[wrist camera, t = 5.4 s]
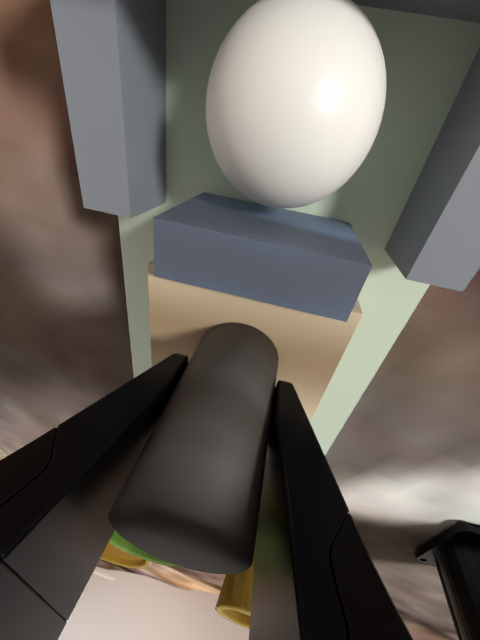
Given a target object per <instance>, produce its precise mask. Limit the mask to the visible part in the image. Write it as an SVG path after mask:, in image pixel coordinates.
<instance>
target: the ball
mask: <svg viewBox="0 0 480 640" xmlns="http://www.w3.org/2000/svg"><path fill="white" fill-rule="evenodd" d="M385 99H386V68H385V60H384V55H383V51H382V48H381V44H380V41H379V39H378V36H377V34H376V32H375V29H374V27H373V26H372V24H371V22H370V21H369V19H368V18H367V16H366V15H365V13H364V12H363V11H362V10H361V9H360V8H359V7H358V6H357V5H356V3H354V2H353V1H352V0H259V1H257V2H256V3H255V4H254V5H252V6H251V7H250V8H249V9H247V10H246V11H245V12H244V14H243V15H242V16H241V17H240V18H239V19H238V20H237V21H236V22H235V24H234V25H233V26H232V28H231V29H230V31H229V32H228V33H227V35H226V37H225V39H224V40H223V42H222V44H221V46H220V48H219V50H218V53H217V55H216V57H215V60H214V62H213V66H212V69H211V73H210V76H209V81H208V87H207V94H206V123H207V132H208V136H209V141H210V145H211V148H212V151H213V154H214V156H215V159H216V161H217V163H218V165H219V167H220V169H221V170H222V172H223V173H224V175H225V176H226V178H227V179H228V180H229V182H230V183H231V184H232V185H233V186H234V187H235V188H236V189H237V190H238V191H239V192H241V193H242V194H243V195H244V196H246V197H248V198H249V199H251V200H253V201H255V202H257V203H259V204H262V205H265V206H268V207H273V208H284V209H290V208H298V207H303V206H307V205H310V204H313V203H315V202H318V201H320V200H322V199H324V198H326V197H327V196H329V195H331V194H332V193H333V192H335V191H336V190H338V189H339V188H340V187H341V186H342V185H343V184H345V183H346V182H347V181H348V180H349V179H350V177H351V176H352V175H353V174H354V173H355V172H356V171H357V169H358V168H359V166H360V165H361V164H362V162H363V161H364V159H365V158H366V156H367V154H368V152H369V151H370V149H371V147H372V144H373V142H374V140H375V138H376V136H377V133H378V130H379V127H380V124H381V121H382V116H383V112H384V107H385Z"/></svg>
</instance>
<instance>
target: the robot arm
mask: <svg viewBox="0 0 480 640" xmlns="http://www.w3.org/2000/svg"><path fill="white" fill-rule="evenodd" d="M188 362H189V359H188V356H186V355H182V354H179V353H174V354H172V355H170V356H168V357H167V358H165V359H164V360H162V361H161V362H159V363H157V364H156V365H154V366H153V367H151V368H149V369H148V370H146V371H145V372H143V373H141V374H140V375H138V376H137V377H135V378H133V379H132V380H130V381H129V382H127V383H125V384H124V385H122V386H121V387H119V388H117V389H116V390H114V391H113V392H111V393H109V394H108V395H106V396H105V397H103V398H101V399H100V400H98V401H97V402H95V403H93V404H92V405H90V406H89V407H87V408H85V409H84V410H82V411H81V412H79V413H77V414H76V415H74V416H73V417H71V418H69V419H68V420H66V421H65V422H63V423H61V424H60V425H58V428H53V429H52V430H50V431H48V432H47V433H45V434H44V435H42V436H40V437H39V438H37V439H35V440H34V441H32V442H30V443H29V444H27V445H25V446H24V447H22V448H20V449H19V450H17V451H15V452H14V453H12V454H10V455H9V456H7V457H5V458H3V459H1V460H0V640H58V638H59V636H60V634H61V632H62V630H63V628H64V626H65V625H66V620H68V618H69V617H70V615H71V613H72V611H73V609H74V607H75V605H76V603H77V601H78V599H79V598H80V596H81V594H82V592H83V590H84V588H85V586H86V584H87V582H88V581H89V579H90V576H91V575H92V573H93V571H94V569H95V567H96V565H97V563H98V561H99V560H100V558H101V556H102V554H103V552H104V550H105V548H106V546H107V544H108V542H109V541H110V539H111V537H112V535H113V533H114V531H115V529H114V528H113V527H112V525H111V524H110V522H109V518H108V515H109V512H110V510H111V508H112V506H113V504H114V502H115V500H116V498H117V497H118V495H119V493H120V491H121V489H122V487H123V485H124V483H125V482H126V480H127V478H128V476H129V474H130V472H131V470H132V468H133V466H134V465H135V463H136V461H137V459H138V457H139V455H140V453H141V451H142V450H143V448H144V446H145V444H146V442H147V440H148V438H149V436H150V435H151V433H152V431H153V429H154V427H155V425H156V423H157V421H158V419H159V418H160V416H161V414H162V412H163V410H164V408H165V406H166V404H167V403H168V401H169V399H170V397H171V395H172V393H173V391H174V389H175V387H176V386H177V384H178V382H179V380H180V378H181V376H182V374H183V372H184V371H185V369H186V367H187V365H188ZM348 512H349V509H348V507H347V505H346V503H345V500H344V498H343V496H342V494H341V491H340V489H339V487H338V485H337V482H336V480H335V478H334V476H333V473H332V471H331V469H330V467H329V464H328V462H327V460H326V458H325V455H324V453H323V451H322V449H321V446H320V444H319V442H318V440H317V437H316V435H315V433H314V431H313V428H312V426H311V424H310V421H309V419H308V417H307V415H306V412H305V410H304V408H303V406H302V403H301V401H300V399H299V397H298V394H297V392H296V390H295V388H294V385H293V384H292V383H290V382H286V381H282V380H279V381H278V382H277V384H276V387H275V393H274V401H273V409H272V417H271V424H270V432H269V440H268V448H267V456H266V464H265V471H264V479H263V487H262V495H261V503H260V511H259V518H258V526H257V534H256V542H255V552H254V568H253V584H252V600H251V615H250V632H249V640H413V638H412V636H411V634H410V632H409V631H408V629H407V627H406V625H405V623H404V621H403V620H402V618H401V616H400V614H399V612H398V610H397V608H396V607H395V605H394V603H393V601H392V599H391V597H390V595H389V593H388V591H387V589H386V587H385V585H384V584H383V582H382V580H381V578H380V576H379V574H378V572H377V570H376V568H375V566H374V564H373V562H372V560H371V558H370V555H369V553H368V551H367V549H366V547H365V545H364V543H363V541H362V538H361V536H360V534H359V532H358V530H357V527H356V525H355V523H354V520H353V518H352V516H351V515H350V514H348ZM415 556H416V560H417V561H419V562H422V563H425V564H428V565H432V566H435V567H437V570H438V573H439V576H440V580H441V583H442V586H443V590H444V593H445V596H446V599H447V603H448V606H449V609H450V612H451V616H452V619H453V622H454V626H455V629H456V632H457V635H458V639H459V640H480V528H479V527H475V526H472V525H468V524H458V525H456V526H454V527H453V528H451V529H450V530H448V531H447V532H445V533H444V534H442V535H441V536H439V537H437V538H436V539H434V540H433V541H431V542H430V543H428V544H427V545H425V546H424V547H422V548H421V549H419V550H417V551H416V552H415Z"/></svg>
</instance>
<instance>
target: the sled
mask: <svg viewBox="0 0 480 640" xmlns="http://www.w3.org/2000/svg"><path fill="white" fill-rule="evenodd" d="M153 239H154V259H153V260H152V261H150V262H149V263H148V264H147V266H148V290H149V314H150V338H151V362H152V367H153V366H154V365H156V364H157V363H159V362H161V361H162V360H164V359H165V358H167V357H168V356H170V355H172V354H174V353H179V354H182V355H186V356H188V359H189V362H188V365H187V367H186V369H185V371H184V372H183V374H182V376H181V378H180V380H179V382H178V384H177V386H176V387H175V389H174V391H173V393H172V395H171V397H170V399H169V401H168V403H167V404H166V406H165V408H164V410H163V412H162V414H161V416H160V418H159V419H158V421H157V423H156V425H155V427H154V429H153V431H152V433H151V435H150V436H149V438H148V440H147V442H146V444H145V446H144V448H143V450H142V451H141V453H140V455H139V457H138V459H137V461H136V463H135V465H134V466H133V468H132V470H131V472H130V474H129V476H128V478H127V480H126V482H125V483H124V485H123V487H122V489H121V491H120V493H119V495H118V497H117V498H116V500H115V502H114V504H113V506H112V508H111V510H110V512H109V515H108V518H109V522H110V524H111V525H112V527H113V528H114V529H115V531H116V532H117V533H118V534H119V535H120V536H122V537H123V538H124V539H125V540H127V541H128V542H130V543H131V544H132V545H134V546H136V547H137V548H139V549H141V550H143V551H144V552H146V553H148V554H150V555H152V556H155V557H157V558H159V559H162V560H164V561H167V562H169V563H172V564H175V565H178V566H181V567H185V568H188V569H192V570H197V571H201V572H207V573H215V574H235V573H240V572H243V571H246V570H247V569H249V568H250V567H251V566H252V563H253V558H254V550H255V542H256V534H257V526H258V518H259V511H260V503H261V495H262V487H263V479H264V471H265V464H266V456H267V448H268V440H269V432H270V424H271V417H272V409H273V401H274V393H275V387H276V384H277V382H278V381H279V380H282V381H286V382H290V383H292V384H293V385H294V388H295V390H296V392H297V394H298V397H299V399H300V401H301V403H302V406H303V408H304V410H305V412H306V415H307V417H308V419H309V421H311V419H312V417H313V415H314V413H315V411H316V409H317V407H318V404H319V402H320V400H321V398H322V396H323V394H324V392H325V390H326V388H327V386H328V384H329V382H330V380H331V378H332V376H333V374H334V372H335V370H336V368H337V366H338V364H339V362H340V360H341V358H342V356H343V354H344V352H345V350H346V348H347V346H348V344H349V342H350V339H351V337H352V335H353V333H354V331H355V329H356V327H357V325H358V323H359V321H360V319H361V317H362V315H363V313H362V310H361V307H360V304H359V301H358V296H359V294H360V292H361V290H362V288H363V285H364V283H365V281H366V279H367V277H368V275H369V272H370V270H371V268H372V264H371V262H370V260H369V258H368V256H367V254H366V252H365V251H364V249H363V247H362V245H361V243H360V241H359V239H358V237H357V235H356V233H355V232H354V230H353V228H352V226H351V224H350V222H345V221H340V220H335V219H330V218H326V217H321V216H316V215H311V214H306V213H302V212H297V211H292V210H287V209H283V208H273V207H268V206H265V205H262V204H259V203H254V202H249V201H244V200H239V199H235V198H230V197H225V196H220V195H215V194H211V193H206V192H203V193H201V194H199V195H197V196H195V197H193V198H191V199H189V200H187V201H185V202H183V203H181V204H179V205H177V206H175V207H173V208H171V209H169V210H167V211H165V212H163V213H161V214H159V215H157V216H155V217H153Z"/></svg>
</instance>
